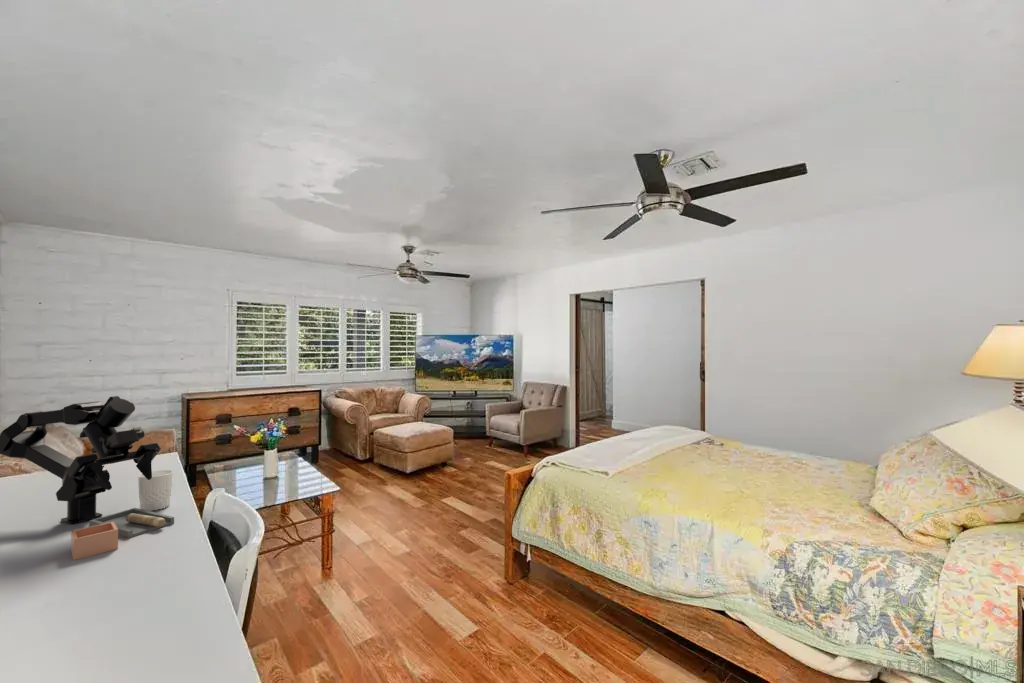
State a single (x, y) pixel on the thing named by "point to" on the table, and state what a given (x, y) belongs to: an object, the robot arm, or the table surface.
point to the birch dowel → (145, 520)
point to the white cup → (155, 490)
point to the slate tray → (130, 528)
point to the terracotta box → (94, 540)
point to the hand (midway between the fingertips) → (131, 483)
